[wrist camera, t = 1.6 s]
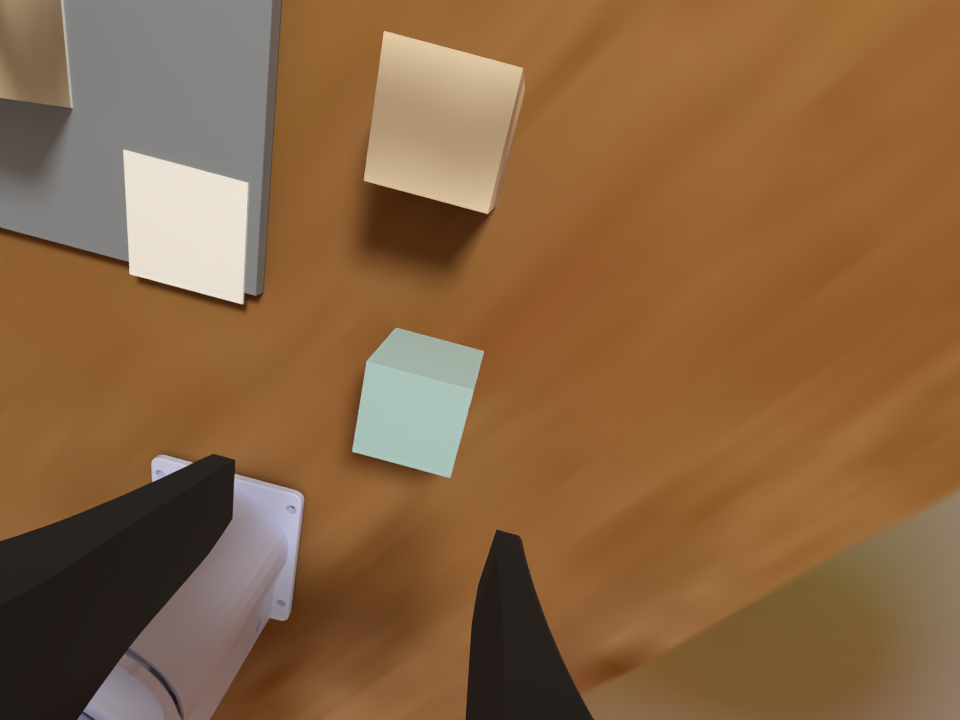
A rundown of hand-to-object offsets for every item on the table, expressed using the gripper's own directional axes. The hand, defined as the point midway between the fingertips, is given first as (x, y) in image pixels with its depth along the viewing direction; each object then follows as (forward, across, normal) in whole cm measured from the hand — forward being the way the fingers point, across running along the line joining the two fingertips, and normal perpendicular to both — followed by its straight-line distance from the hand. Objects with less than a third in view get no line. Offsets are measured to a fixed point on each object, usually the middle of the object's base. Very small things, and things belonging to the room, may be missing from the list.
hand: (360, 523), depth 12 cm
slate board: (+9, +15, -8) cm, 19 cm away
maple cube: (+10, +1, -10) cm, 14 cm away
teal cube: (+10, 0, 0) cm, 10 cm away
